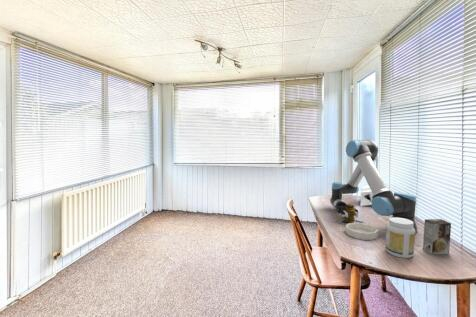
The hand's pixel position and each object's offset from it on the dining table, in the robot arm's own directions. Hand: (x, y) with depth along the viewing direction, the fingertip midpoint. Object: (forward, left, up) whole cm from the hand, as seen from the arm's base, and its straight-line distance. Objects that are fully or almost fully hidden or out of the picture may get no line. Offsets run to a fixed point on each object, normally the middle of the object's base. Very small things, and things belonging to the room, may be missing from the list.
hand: (352, 215), depth 166 cm
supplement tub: (-32, +24, -7) cm, 40 cm away
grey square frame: (+3, -4, -7) cm, 8 cm away
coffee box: (-45, +9, -7) cm, 46 cm away
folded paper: (+8, -64, -7) cm, 65 cm away
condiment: (+4, -3, -7) cm, 8 cm away
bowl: (-10, +12, -7) cm, 17 cm away
